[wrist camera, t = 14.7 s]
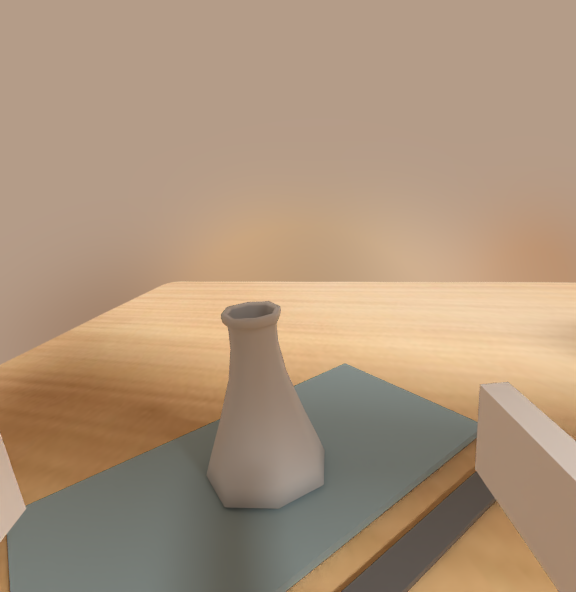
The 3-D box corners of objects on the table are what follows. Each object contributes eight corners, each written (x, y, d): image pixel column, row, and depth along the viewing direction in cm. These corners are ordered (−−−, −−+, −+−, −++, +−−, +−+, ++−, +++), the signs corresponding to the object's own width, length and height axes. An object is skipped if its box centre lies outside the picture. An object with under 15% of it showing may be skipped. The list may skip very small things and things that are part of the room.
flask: (208, 530, 20) (177, 345, 17) (205, 441, 26) (184, 300, 24) (345, 497, 21) (338, 321, 18) (309, 421, 28) (300, 285, 25)
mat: (345, 368, 36) (344, 363, 36) (484, 431, 26) (484, 425, 26) (8, 522, 22) (5, 514, 22) (25, 800, 12) (21, 790, 11)
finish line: (525, 430, 26) (525, 426, 26) (552, 442, 25) (553, 438, 24) (-71, 970, 9) (-75, 963, 9) (-80, 1092, 8) (-85, 1086, 8)
